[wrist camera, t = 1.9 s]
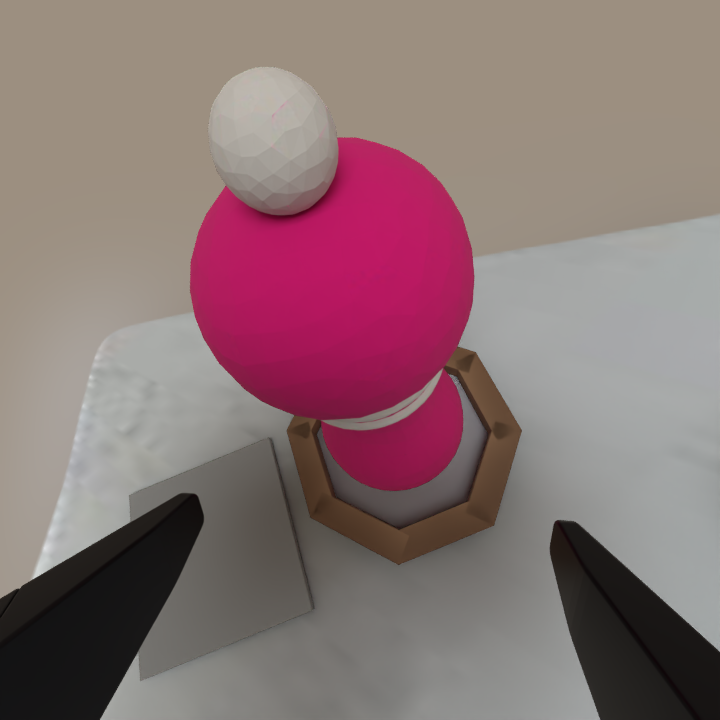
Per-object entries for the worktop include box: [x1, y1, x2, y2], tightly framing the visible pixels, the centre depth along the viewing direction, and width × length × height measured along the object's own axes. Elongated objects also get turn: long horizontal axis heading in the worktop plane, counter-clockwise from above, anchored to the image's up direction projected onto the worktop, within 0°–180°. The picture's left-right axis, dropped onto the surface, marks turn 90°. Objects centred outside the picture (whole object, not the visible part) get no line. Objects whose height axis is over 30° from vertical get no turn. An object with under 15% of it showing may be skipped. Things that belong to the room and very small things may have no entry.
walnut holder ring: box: [287, 347, 522, 565], centre depth 22 cm, size 13×13×1 cm
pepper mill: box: [190, 67, 474, 491], centre depth 13 cm, size 7×7×20 cm
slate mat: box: [129, 438, 314, 681], centre depth 21 cm, size 10×10×1 cm
